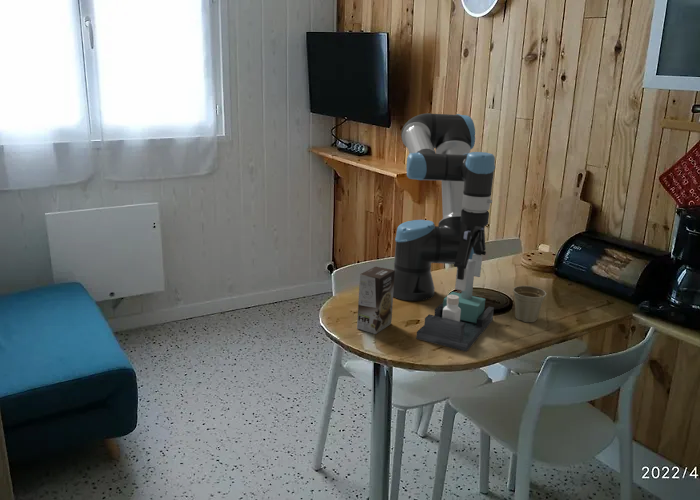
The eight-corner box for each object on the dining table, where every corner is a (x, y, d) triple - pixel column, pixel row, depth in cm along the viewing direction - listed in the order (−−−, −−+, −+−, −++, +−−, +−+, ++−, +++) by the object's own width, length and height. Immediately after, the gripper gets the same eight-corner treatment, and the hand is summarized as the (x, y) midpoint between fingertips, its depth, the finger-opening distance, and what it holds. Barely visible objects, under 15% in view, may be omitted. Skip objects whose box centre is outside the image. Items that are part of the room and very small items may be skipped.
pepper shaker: (446, 325, 168) (449, 292, 165) (459, 328, 166) (463, 296, 163) (440, 329, 164) (443, 297, 162) (454, 333, 162) (457, 300, 160)
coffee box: (376, 334, 165) (379, 278, 160) (356, 328, 168) (358, 273, 163) (392, 323, 172) (395, 269, 167) (372, 318, 175) (375, 265, 171)
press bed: (416, 338, 163) (417, 316, 161) (447, 309, 184) (448, 289, 182) (466, 351, 157) (468, 328, 155) (492, 320, 177) (495, 299, 175)
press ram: (442, 315, 173) (447, 262, 169) (450, 307, 179) (455, 255, 175) (476, 323, 169) (482, 268, 164) (483, 315, 175) (489, 262, 170)
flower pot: (525, 327, 173) (528, 299, 171) (502, 315, 181) (506, 288, 179) (549, 322, 178) (553, 294, 175) (526, 310, 186) (530, 283, 183)
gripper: (474, 220, 154) (466, 298, 161) (501, 203, 175) (493, 273, 182) (446, 216, 158) (439, 293, 164) (476, 200, 179) (469, 268, 185)
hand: (467, 282), depth 173 cm, fingers open, 13 cm apart
